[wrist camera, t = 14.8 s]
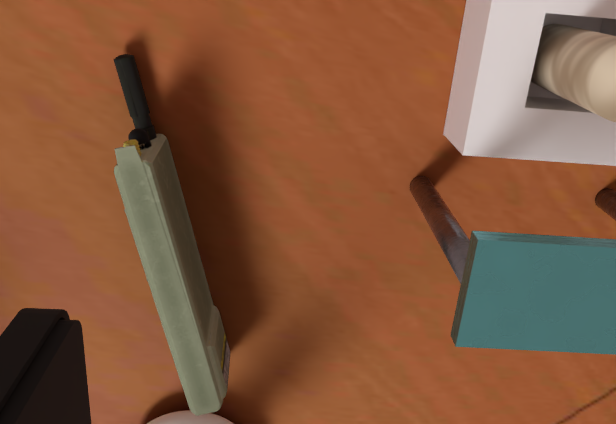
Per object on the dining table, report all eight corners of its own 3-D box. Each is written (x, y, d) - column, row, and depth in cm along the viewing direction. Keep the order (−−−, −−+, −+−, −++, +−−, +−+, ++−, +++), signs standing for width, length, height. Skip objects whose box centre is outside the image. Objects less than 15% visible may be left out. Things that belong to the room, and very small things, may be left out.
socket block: (475, -52, 37) (502, -54, 32) (659, -35, 38) (710, -36, 33) (443, 134, 42) (462, 155, 37) (607, 145, 42) (646, 167, 38)
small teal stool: (413, 145, 42) (478, 239, 28) (630, 160, 43) (801, 259, 29) (401, 223, 44) (455, 346, 30) (607, 235, 45) (755, 361, 31)
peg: (527, 21, 38) (600, 39, 29) (588, 25, 38) (681, 44, 29) (514, 84, 39) (581, 120, 30) (573, 87, 40) (657, 124, 30)
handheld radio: (194, 361, 49) (101, 57, 39) (233, 354, 49) (150, 48, 39) (184, 418, 43) (71, 73, 33) (229, 410, 43) (129, 62, 33)
